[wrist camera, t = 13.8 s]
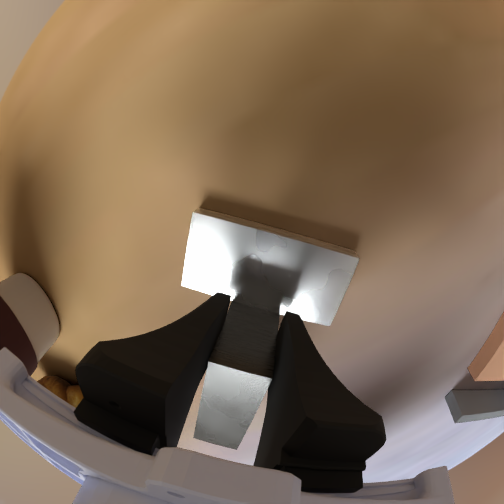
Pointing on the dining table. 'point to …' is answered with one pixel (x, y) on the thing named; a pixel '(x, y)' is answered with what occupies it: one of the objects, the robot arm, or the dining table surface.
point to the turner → (255, 307)
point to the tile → (490, 357)
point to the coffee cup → (26, 320)
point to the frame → (475, 404)
